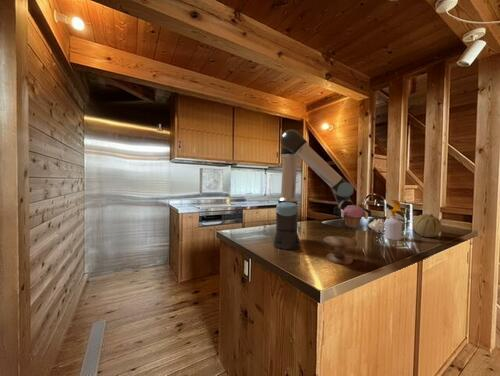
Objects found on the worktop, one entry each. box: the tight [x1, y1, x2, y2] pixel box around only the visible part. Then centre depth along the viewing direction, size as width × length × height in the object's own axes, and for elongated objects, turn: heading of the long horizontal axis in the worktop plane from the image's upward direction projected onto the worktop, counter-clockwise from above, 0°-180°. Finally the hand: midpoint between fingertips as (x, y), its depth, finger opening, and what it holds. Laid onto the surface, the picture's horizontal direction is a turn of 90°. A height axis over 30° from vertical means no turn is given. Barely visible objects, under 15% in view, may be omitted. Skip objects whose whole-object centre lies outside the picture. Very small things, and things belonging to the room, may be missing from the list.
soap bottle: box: [383, 198, 403, 241], centre depth 136 cm, size 9×9×25 cm
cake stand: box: [322, 235, 358, 265], centre depth 98 cm, size 14×14×9 cm
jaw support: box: [367, 218, 385, 234], centre depth 154 cm, size 12×9×10 cm
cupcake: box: [343, 204, 364, 228], centre depth 100 cm, size 9×9×10 cm
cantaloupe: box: [412, 214, 443, 238], centre depth 140 cm, size 15×15×15 cm
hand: (354, 215), depth 95 cm, fingers closed on cupcake, 9 cm apart
